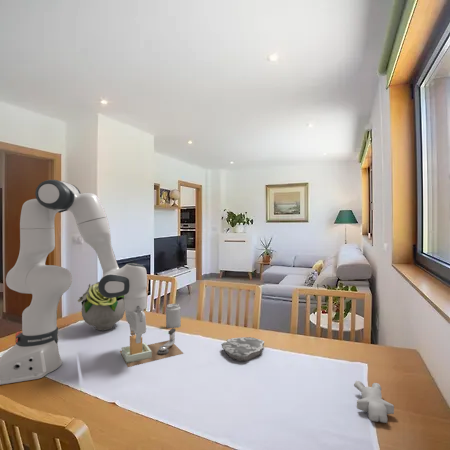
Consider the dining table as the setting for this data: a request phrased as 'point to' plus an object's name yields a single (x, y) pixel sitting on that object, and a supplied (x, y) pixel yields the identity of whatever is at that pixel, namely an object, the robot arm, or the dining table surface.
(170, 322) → the can
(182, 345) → the dining table surface
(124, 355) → the tray
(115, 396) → the dining table surface
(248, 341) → the brain slice
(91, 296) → the flower arrangement
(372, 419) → the bunny figurine
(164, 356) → the mechanism board
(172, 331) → the crank
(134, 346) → the block
